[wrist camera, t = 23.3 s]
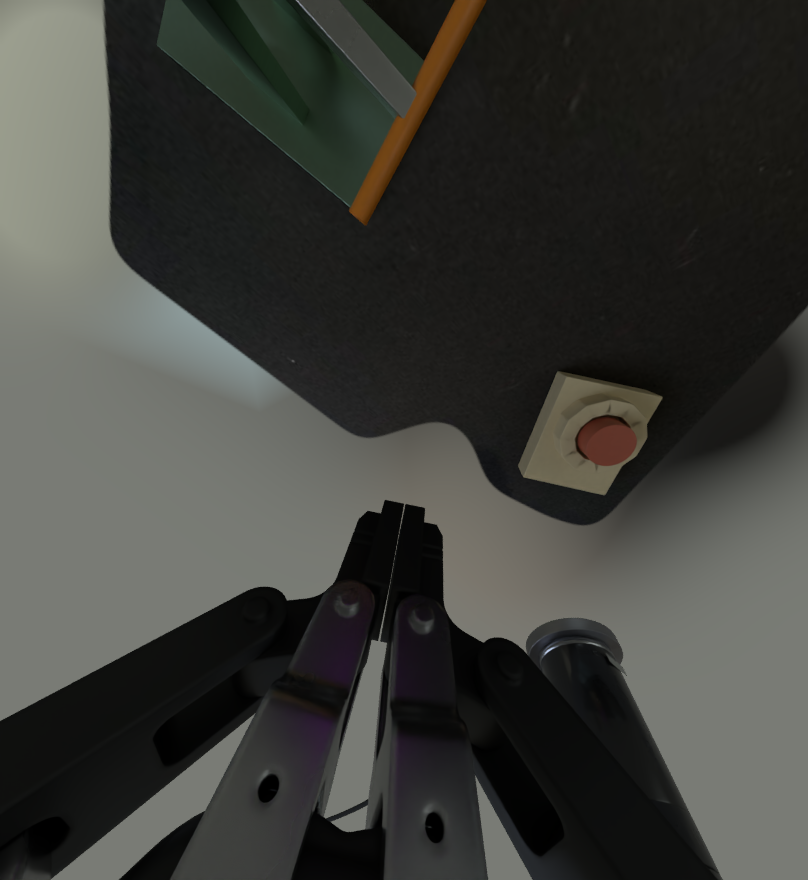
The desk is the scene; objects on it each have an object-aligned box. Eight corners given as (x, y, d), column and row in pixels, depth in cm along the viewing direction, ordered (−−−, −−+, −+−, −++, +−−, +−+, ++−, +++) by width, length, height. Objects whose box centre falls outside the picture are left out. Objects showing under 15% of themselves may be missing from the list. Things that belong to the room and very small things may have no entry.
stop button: (611, 460, 26) (622, 470, 24) (569, 451, 26) (578, 460, 24) (633, 422, 24) (646, 430, 22) (588, 412, 24) (599, 420, 23)
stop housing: (594, 483, 31) (614, 507, 27) (517, 466, 31) (527, 487, 27) (646, 389, 26) (679, 403, 23) (557, 370, 26) (575, 381, 23)
